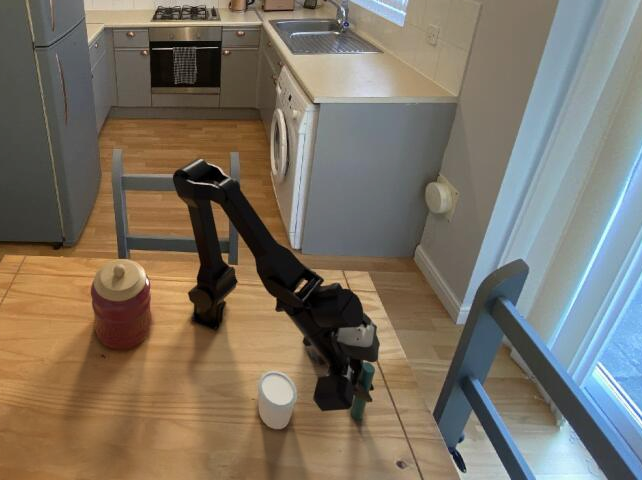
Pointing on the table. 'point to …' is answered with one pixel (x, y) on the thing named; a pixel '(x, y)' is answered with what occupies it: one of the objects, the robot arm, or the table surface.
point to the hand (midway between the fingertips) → (370, 395)
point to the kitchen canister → (121, 304)
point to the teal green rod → (366, 380)
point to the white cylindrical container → (276, 398)
